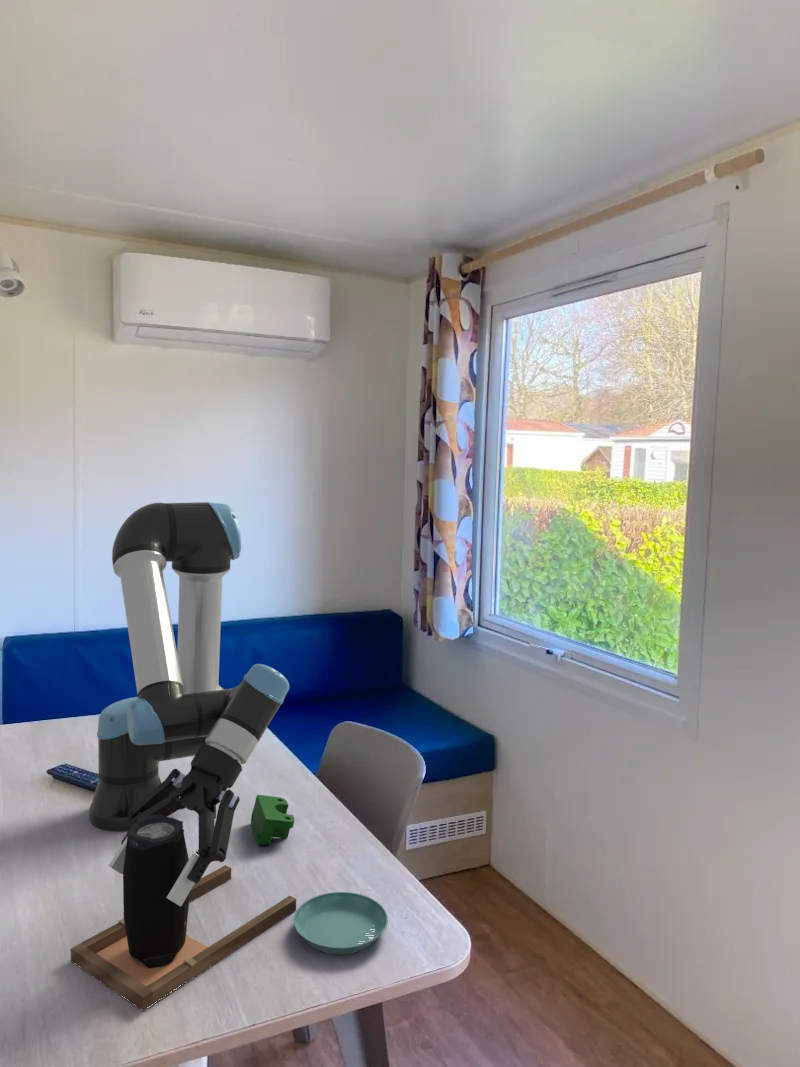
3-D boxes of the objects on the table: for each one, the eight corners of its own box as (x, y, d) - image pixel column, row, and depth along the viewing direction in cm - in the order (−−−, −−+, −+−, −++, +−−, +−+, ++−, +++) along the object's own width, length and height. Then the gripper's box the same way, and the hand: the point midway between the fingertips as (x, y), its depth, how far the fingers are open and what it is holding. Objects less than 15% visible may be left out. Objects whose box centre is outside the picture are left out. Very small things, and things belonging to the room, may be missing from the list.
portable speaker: (201, 943, 117) (200, 820, 115) (154, 979, 109) (152, 848, 106) (159, 925, 121) (158, 806, 119) (111, 959, 113) (109, 832, 111)
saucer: (308, 973, 112) (309, 956, 111) (282, 917, 125) (282, 901, 125) (402, 950, 117) (402, 934, 117) (367, 899, 131) (368, 884, 131)
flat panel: (95, 955, 114) (95, 953, 114) (157, 920, 123) (157, 918, 123) (154, 994, 106) (154, 992, 106) (216, 954, 115) (216, 952, 115)
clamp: (282, 862, 150) (296, 829, 147) (252, 859, 148) (266, 826, 145) (278, 814, 160) (292, 782, 157) (250, 810, 158) (263, 778, 155)
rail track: (70, 960, 113) (70, 946, 112) (224, 875, 137) (224, 863, 136) (144, 1012, 103) (143, 996, 102) (296, 910, 127) (296, 897, 126)
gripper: (292, 786, 118) (215, 926, 107) (185, 747, 132) (108, 867, 121) (267, 763, 113) (184, 907, 102) (159, 725, 127) (77, 848, 116)
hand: (143, 886), depth 112 cm, fingers open, 13 cm apart
